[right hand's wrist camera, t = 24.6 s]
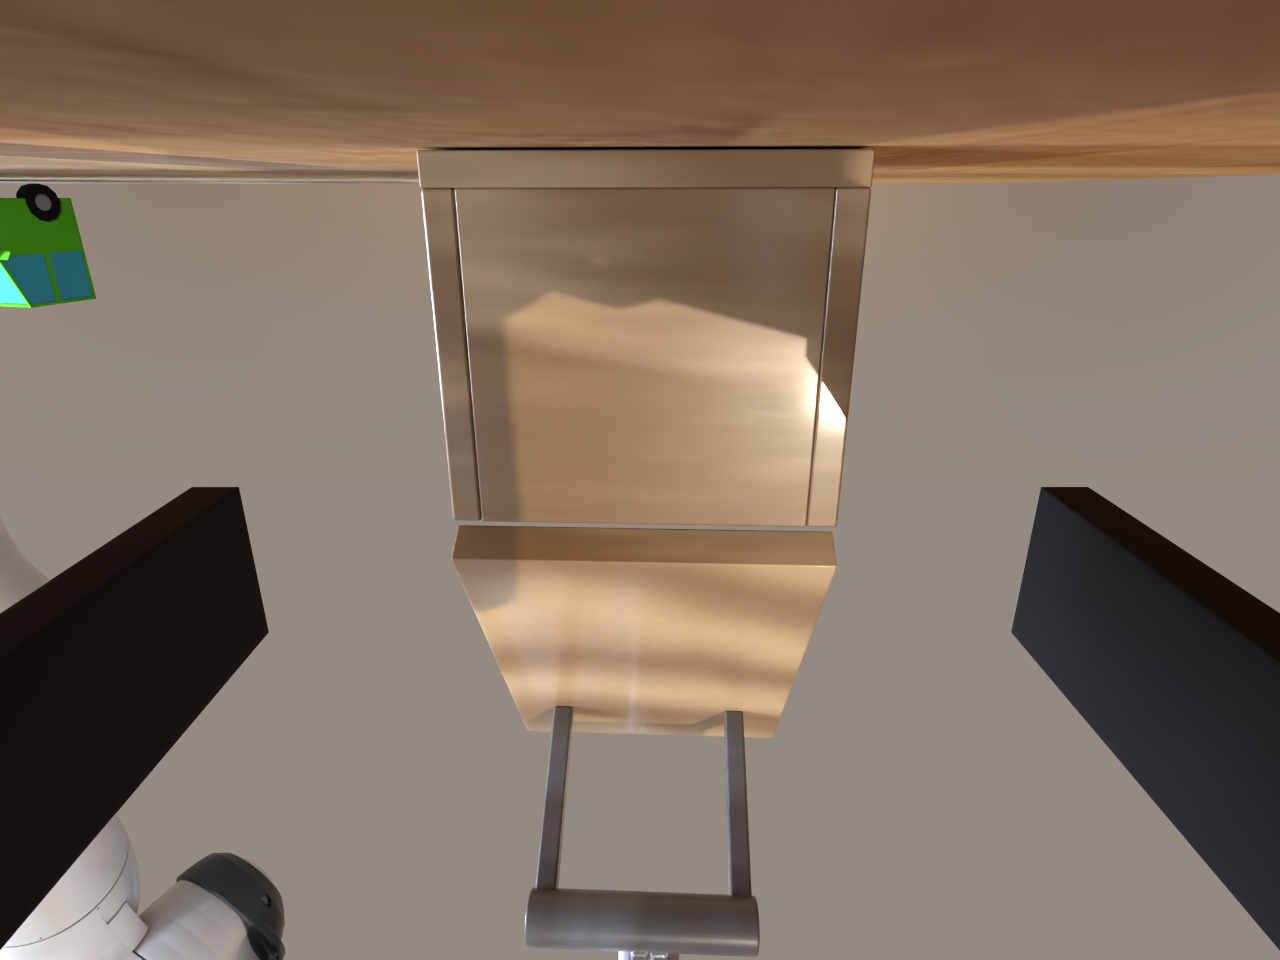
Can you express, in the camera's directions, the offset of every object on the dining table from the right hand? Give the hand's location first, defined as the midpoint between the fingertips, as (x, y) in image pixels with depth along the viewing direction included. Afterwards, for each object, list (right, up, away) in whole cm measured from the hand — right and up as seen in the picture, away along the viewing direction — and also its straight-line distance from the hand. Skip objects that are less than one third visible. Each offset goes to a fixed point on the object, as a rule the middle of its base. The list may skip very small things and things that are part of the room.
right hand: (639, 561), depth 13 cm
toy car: (-57, +26, +49) cm, 79 cm away
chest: (0, +11, +10) cm, 15 cm away
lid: (0, -4, +13) cm, 14 cm away
